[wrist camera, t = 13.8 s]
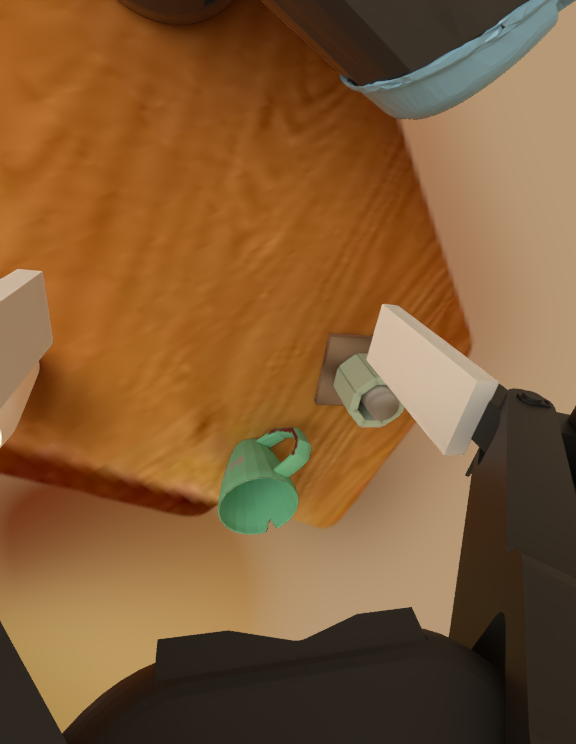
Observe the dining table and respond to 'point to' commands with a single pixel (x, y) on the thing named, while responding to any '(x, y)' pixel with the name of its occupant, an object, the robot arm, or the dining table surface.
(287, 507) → the mug
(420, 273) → the dining table surface
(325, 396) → the shaft block
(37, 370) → the cup
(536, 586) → the robot arm
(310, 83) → the dining table surface
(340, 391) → the pale green hollow tube
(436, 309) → the dining table surface
